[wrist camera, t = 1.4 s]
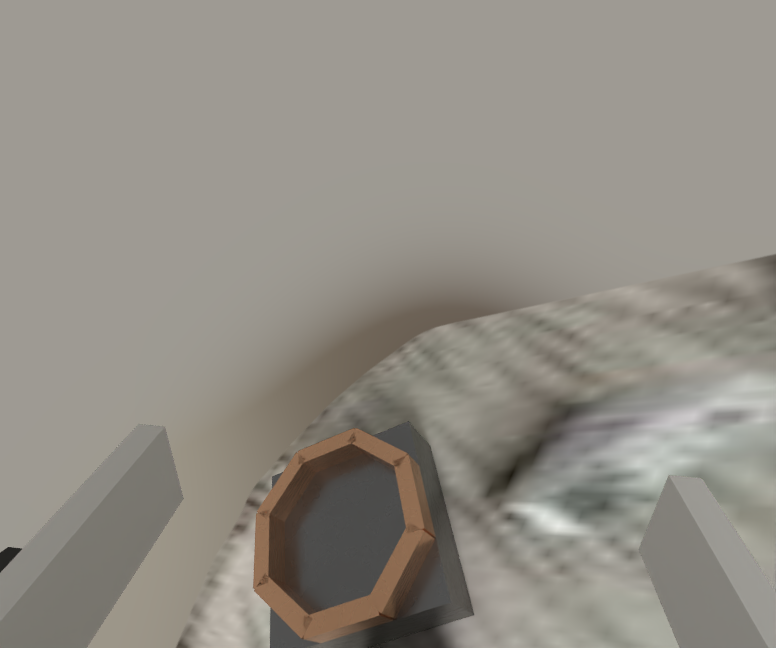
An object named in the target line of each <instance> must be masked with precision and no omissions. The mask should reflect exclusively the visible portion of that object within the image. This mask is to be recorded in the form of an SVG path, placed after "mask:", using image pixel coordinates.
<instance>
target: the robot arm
mask: <svg viewBox="0 0 776 648" xmlns="http://www.w3.org/2000/svg"><path fill="white" fill-rule="evenodd" d="M182 500H183V495H182V491H181V487H180V483H179V479H178V475H177V471H176V468H175V464H174V460H173V456H172V452H171V448H170V444H169V441H168V437H167V433H166V429H165V427H164V426H153V425H143V424H138V425H137V426H136V428H134V430H133V431H132V432H131V433H130V434H129V435H128V436H127V437H126V438H125V439H124V440H123V441H122V443H121V444H120V445H119V446H118V447H117V448H116V449H115V450H114V451H113V452H112V453H111V454H110V455H109V457H108V458H107V459H106V460H105V461H104V462H103V463H102V464H101V465H100V466H99V467H98V468H97V469H96V470H95V472H94V473H93V474H92V475H91V476H90V477H89V478H88V479H87V480H86V481H85V482H84V484H82V485H81V487H80V488H79V489H78V490H77V491H76V492H75V493H74V494H73V495H72V497H70V498H69V499H68V501H67V502H66V503H65V504H64V505H63V506H62V507H61V508H60V509H59V510H58V511H57V512H56V513H55V514H54V516H53V517H52V518H51V519H50V520H49V521H48V522H47V523H46V524H45V525H44V526H43V527H42V529H41V530H40V531H39V532H38V533H37V534H36V535H35V536H34V537H33V538H32V539H31V540H30V541H29V542H28V544H27V545H26V546H25V547H24V548H23V549H20V548H12V547H8V548H6V549H5V550H4V551H2V552H1V553H0V648H87V647H88V645H89V644H90V642H91V640H92V639H93V637H94V636H95V634H96V633H97V631H98V630H99V628H100V627H101V625H102V623H103V622H104V620H105V619H106V617H107V616H108V614H109V613H110V611H111V610H112V608H113V607H114V605H115V603H116V602H117V600H118V599H119V597H120V596H121V594H122V593H123V591H124V590H125V588H126V586H127V585H128V583H129V582H130V580H131V579H132V577H133V576H134V574H135V573H136V571H137V569H138V568H139V566H140V565H141V563H142V562H143V560H144V559H145V557H146V556H147V554H148V553H149V551H150V550H151V548H152V546H153V545H154V543H155V542H156V540H157V539H158V537H159V536H160V534H161V533H162V531H163V529H164V528H165V526H166V525H167V523H168V522H169V520H170V519H171V517H172V516H173V514H174V513H175V511H176V509H177V508H178V506H179V505H180V503H181V502H182ZM639 551H640V554H641V556H642V559H643V561H644V563H645V566H646V568H647V571H648V573H649V575H650V578H651V580H652V583H653V585H654V587H655V590H656V592H657V595H658V597H659V599H660V602H661V604H662V607H663V609H664V611H665V614H666V616H667V619H668V621H669V623H670V626H671V628H672V631H673V633H674V635H675V638H676V640H677V643H678V645H679V647H680V648H776V591H775V589H774V588H773V586H772V585H771V583H770V582H769V580H768V579H767V577H766V575H765V574H764V572H763V571H762V569H761V568H760V566H759V565H758V563H757V562H756V560H755V559H754V557H753V556H752V554H751V553H750V551H749V550H748V548H747V547H746V545H745V543H744V542H743V540H742V539H741V537H740V536H739V534H738V533H737V531H736V530H735V528H734V527H733V525H732V524H731V522H730V521H729V519H728V518H727V516H726V515H725V513H724V512H723V510H722V508H721V507H720V505H719V504H718V502H717V501H716V499H715V498H714V496H713V495H712V493H711V492H710V490H709V489H708V487H707V486H706V484H705V483H704V481H703V480H702V478H694V477H684V476H673V475H669V476H668V478H667V481H666V483H665V486H664V488H663V491H662V493H661V496H660V498H659V500H658V503H657V505H656V508H655V510H654V513H653V515H652V518H651V520H650V523H649V525H648V528H647V530H646V533H645V535H644V537H643V540H642V542H641V545H640V547H639Z"/></svg>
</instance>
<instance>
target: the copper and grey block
mask: <svg viewBox="0 0 776 648" xmlns="http://www.w3.org/2000/svg"><path fill="white" fill-rule="evenodd" d="M257 512H258V513H257V514H256V530H255V556H254V583H253V588H254V589H255V590H254V591H255V592H256V593H257V594H258V595H259V596H260V597H261V598H262V599H263V600H264V601H265V602H266V603H267V604H268V605H269V606H270V607H271V614H270V648H367V647H370V646H374V645H377V644H380V643H384V642H387V641H390V640H393V639H397V638H400V637H403V636H407V635H410V634H413V633H416V632H420V631H423V630H426V629H430V628H433V627H436V626H439V625H443V624H446V623H449V622H453V621H456V620H459V619H462V618H466V617H469V616H472V615H474V613H473V609H472V605H471V601H470V597H469V594H468V590H467V586H466V582H465V578H464V574H463V571H462V567H461V563H460V559H459V555H458V551H457V548H456V544H455V540H454V536H453V532H452V528H451V524H450V521H449V517H448V513H447V509H446V505H445V501H444V498H443V494H442V490H441V486H440V482H439V478H438V475H437V471H436V467H435V463H434V459H433V455H432V451H431V448H430V445H429V444H428V443H427V442H426V441H425V440H424V439H423V437H422V436H421V435H420V434H419V433H418V432H417V430H416V429H415V428H414V427H413V426H412V425H411V423H410V422H409V421H408V422H406V423H403V424H401V425H399V426H396V427H394V428H391V429H389V430H386V431H384V432H381V433H379V434H376V435H374V436H372V435H370V434H368V433H366V432H364V431H362V430H360V429H358V428H356V429H355V428H353V429H350V430H348V431H346V432H343V433H341V434H338V435H336V436H333V437H331V438H329V439H326V440H324V441H321V442H319V443H316V444H314V445H311V446H309V447H307V448H304V449H302V450H299V451H298V453H297V452H296V454H295V455H294V457H293V458H292V460H291V461H290V463H289V464H288V466H287V467H286V469H285V470H284V472H282V473H280V474H277V475H275V476H272V490H271V491H270V493H269V494H268V496H267V497H266V499H265V500H264V502H263V503H262V505H261V506H260V508H259V509H258V511H257Z"/></svg>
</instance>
